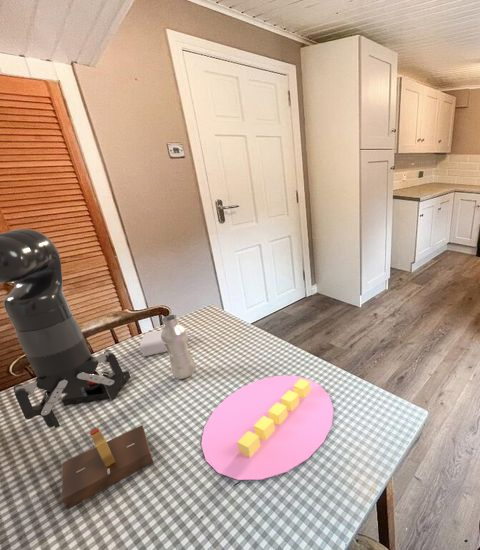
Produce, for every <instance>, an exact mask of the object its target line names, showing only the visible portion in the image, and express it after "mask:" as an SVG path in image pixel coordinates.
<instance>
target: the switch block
mask: <svg viewBox="0 0 480 550" xmlns="http://www.w3.org/2000/svg"><path fill="white" fill-rule="evenodd" d="M100 372H101V373H104V374H108V375H109V374H110V372H107V371H100ZM123 373H124V376H123V377H122V378H118V379H117V380H116V381H115V383H114V384H115V386H116V389H117V391H118V394H120V392H121V391H122V390H123V388H124V387H125V386H126V384H127V383H128V381H129V380H130V379H131V374H130V371H128V370H127V371H123ZM115 398H117V396H115ZM106 400H107V401H108V400H111V399H110V398H109V396H108V393H107V391H106V389H105V386H104V384H101V383H95V384H91V385H85V386H83V387H79V388H76V389H74V390H73V391H71V392H69V393H67V394H65V395H64V396H63V397H62V398H61V402H62V404H63V406H65V407H67V406H72V405H78V404H79V405H81V404H86V403H94V402H100V401H101V402H102V401H106Z"/></svg>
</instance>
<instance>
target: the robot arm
mask: <svg viewBox="0 0 480 550" xmlns="http://www.w3.org/2000/svg"><path fill="white" fill-rule="evenodd" d="M63 281H64V280H63V269H62V261H61V256H60V253H59V250H58V248H57V246H56V244H55V243H54V242H53V241H52V240H51V239H50V237H48V236H47V235H46V234H44V233H42V232H40V231H38V230H36V229H32V228H17V229H16V228H15V229H12V230H8V231H5V232H1V233H0V284H9V283H10V284H11V283H14V286H13V288H12V289H11V290H10V292H9V293H8V294H7V295H6V296H5V297H4V299H3V307H4V310H5V312H6V314H7V316H8V319H9V320H10V322H11V325H12V326H13V329H14V330H15V332H16V337H17V341H18V342H19V345H20V347H21V349H22V351H23V352H24V354H25V356H26V359H27V361H28V362H29V365H30V367H31V368H32V370H33V372H34V374H35V376H36V379H35V381H33V382H32V381H31V382H29V383H27V384H22V383H19V384H16V385H14V387H12V389H13V392H14V395H15V398H16V400H17V403H18V405H19V408H20V411H21V412H22V414H23V416H24V419H25V420H31V419H34V418H35V417H37V416H38V417H39V416H40V417H42V419H43V420H44V423H45V424H46V426H47V427H48V428H53V427H54V429H57V428H59V427H61V424H60V422H59V420H58V417H57V416H56V414H55V412H54V410H53V408H54V406H55V404H57V403H58V401H59V399H60V398H61V397H60V396H61V395H62V394H65V395H66V394H67V393H69V392H71V391H73V390H74V389H76V388H79V387H83V386H85V385H87V383H88V382H89V381H91V382H95V383H101V384H104V386H105V389H106V391H107V393H108V396H109V398H110V399H109V400H110V401H111V402H112V401H114V400H116V398H117V396H119V393H118V391H117V389H116V386H115V384H114V383H115V381H116V380H117V379H118V378H122V377H123V376H124V373H123V372H124V371H123V369H122V368H121V365H120V363H119V361H118V358H117V357H116V355H115V354H114V352H112V350H111V349H106V350H104V351H103V353H102V354H100V355H98V356H96V357H94V356H92V353H91V351H90V349H89V346H88V344H87V342H86V339H85V336H84V334H83V331H82V328H81V327H80V325H79V323H78V321H77V319H76V317H75V316H74V314H73V313H72V310H71V308H70V306H69V303H68V300H67V298H66V296H65V294H64V289H63V287H64V286H63V285H64V283H63ZM101 363H102V364H104V365H105V366H106V365H108V366H109V367H110V369H111V371H112V372H109V375H108V374H104V373H101V372H102V371H99V370H97V368H98V366H99V364H101ZM36 389H40V390H42V391H43V390H44V392H43V396H42V399H41V401H40V402H39V404H38V405H33V404H32V402H31V400H30V398H32V397H33V396H34V394H35V390H36ZM115 396H116V398H115Z"/></svg>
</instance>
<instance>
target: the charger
mask: <svg viewBox="0 0 480 550" xmlns="http://www.w3.org/2000/svg"><path fill="white" fill-rule="evenodd" d="M162 331H163V329H162V330H156V331H151V332H146V333H145V332H144V333H143V336H142V339H141V342H140V345H139V348H140V352H141V355H142V357H143V358H144V357H148V356H153V355H157V354H162V353H168V351H167V349H166V347H165V345H164V343H163V341H162V339H161V333H162ZM186 332H187V341H188V338H191V337H194V332H189V331H186Z"/></svg>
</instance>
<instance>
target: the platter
mask: <svg viewBox="0 0 480 550" xmlns="http://www.w3.org/2000/svg"><path fill="white" fill-rule="evenodd" d="M333 418H334V406H333V403H332V400H331V397H330V395H329V393H328V392H327V391H326V390H325V389H324V388H323V386H322V385H320V384H319V383H317V382H315V381H314V380H311V379H309V378H307V377H306V378H305V377H302V376H298V375H274V376H270V377H264V378H260V379H257V380H255V381H253V382H251V383H248V384H245V385H243V386H241V387H240V388H239V389H237V390H236V391H234V392H232V393H231V394H230V395H228V396H227V397H226V398H224V400H222V401H221V402H220V404H218V405H217V407H216V408H214V410H213V411H212V413H211V414H210V416H209V417H208V419H207V422H206V423H205V424H204V427H203V432H202V437H201V444H200V445H201V449H202V452H203V456H204V459H205V462H207V463H208V464H209V465H210V466H211V468H213V470H214V471H216V473H217V474H219V475H223V476H225V477H228V478H231V479H234V480H236V481H257V480H258V481H263V480H266V479H269V478H272V477H275V476H279V475H282V474H285V473H288V472H289V471H291V470H293V469H294V468H296V467H297V466H299V465H301V464H302V463H304V462H305V461H307V460H309V459H310V458H311V456H312V455H313V454H314V453H315V452H316V451H317V450H318V449H319V448H320V447H321V446H322V445H323V443H324V442H325V440H326V438H327V436H328V435H329V432H330V431H331V428H332V426H333V420H334V419H333Z"/></svg>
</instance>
